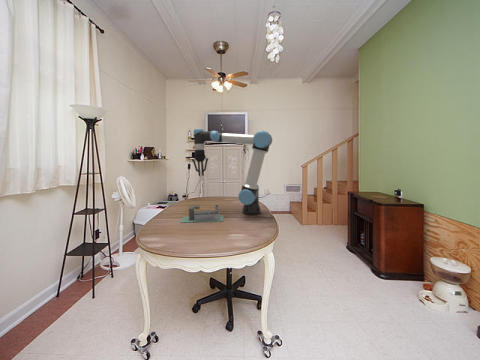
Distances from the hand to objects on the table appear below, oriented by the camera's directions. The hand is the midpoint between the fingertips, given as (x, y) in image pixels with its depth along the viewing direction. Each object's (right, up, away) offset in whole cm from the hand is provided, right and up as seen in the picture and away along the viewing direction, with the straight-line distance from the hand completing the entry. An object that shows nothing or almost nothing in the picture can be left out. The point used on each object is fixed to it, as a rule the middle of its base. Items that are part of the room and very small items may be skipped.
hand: (201, 180), depth 163 cm
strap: (+6, -22, -11) cm, 25 cm away
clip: (-3, -28, -10) cm, 30 cm away
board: (+3, -29, -10) cm, 31 cm away
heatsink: (+6, -29, -10) cm, 31 cm away
